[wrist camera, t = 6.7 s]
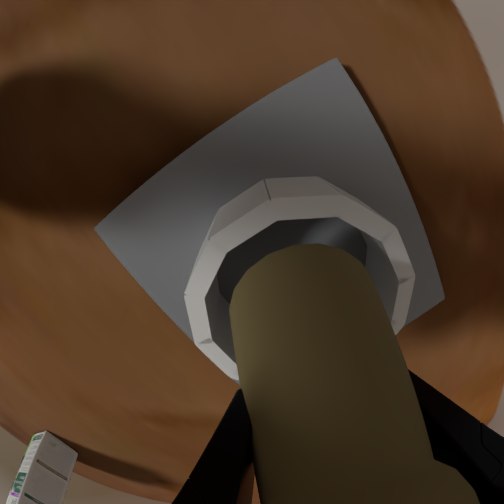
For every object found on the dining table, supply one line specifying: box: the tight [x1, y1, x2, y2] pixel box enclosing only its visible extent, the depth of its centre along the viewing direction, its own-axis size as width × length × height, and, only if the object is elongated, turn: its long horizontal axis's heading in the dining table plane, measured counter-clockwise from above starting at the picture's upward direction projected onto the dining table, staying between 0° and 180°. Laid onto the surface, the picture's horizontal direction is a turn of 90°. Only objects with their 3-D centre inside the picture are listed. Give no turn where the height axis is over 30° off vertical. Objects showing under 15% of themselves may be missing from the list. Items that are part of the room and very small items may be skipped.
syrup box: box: [6, 431, 78, 504], centre depth 21 cm, size 6×6×14 cm
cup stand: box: [94, 58, 445, 385], centre depth 14 cm, size 15×16×5 cm
